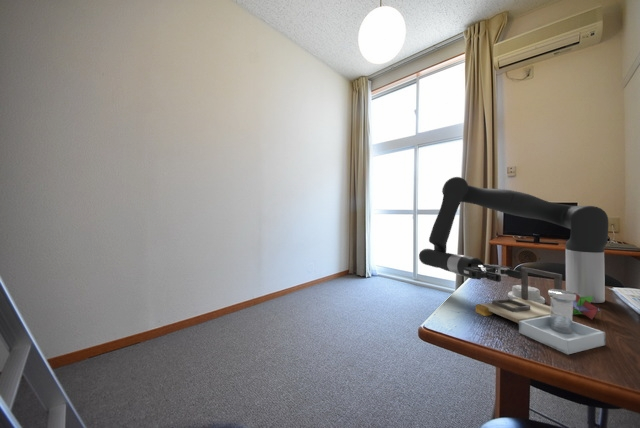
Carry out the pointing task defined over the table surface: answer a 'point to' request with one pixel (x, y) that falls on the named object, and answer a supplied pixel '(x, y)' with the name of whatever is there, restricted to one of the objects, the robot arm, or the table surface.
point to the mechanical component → (532, 294)
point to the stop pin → (561, 310)
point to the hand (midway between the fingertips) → (510, 277)
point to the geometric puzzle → (584, 306)
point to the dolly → (521, 301)
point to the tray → (562, 335)
